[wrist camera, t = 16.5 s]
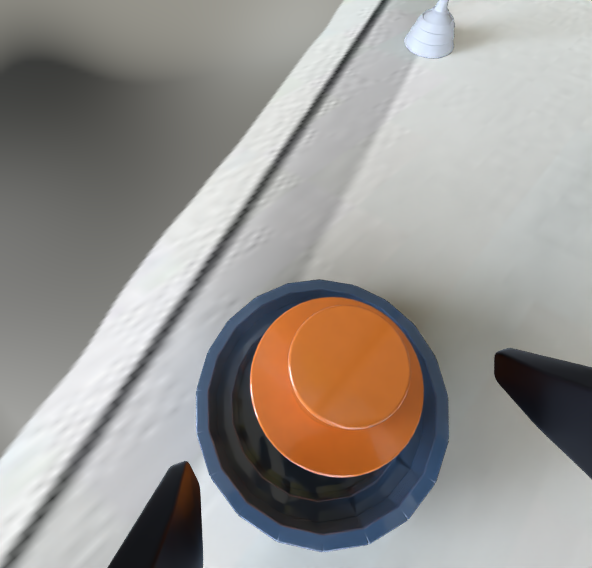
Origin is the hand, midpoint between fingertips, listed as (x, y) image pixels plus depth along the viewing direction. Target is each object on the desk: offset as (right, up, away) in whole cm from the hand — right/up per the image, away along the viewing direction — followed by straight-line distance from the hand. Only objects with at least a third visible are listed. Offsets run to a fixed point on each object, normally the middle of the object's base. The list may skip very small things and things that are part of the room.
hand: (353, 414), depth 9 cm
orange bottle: (0, -3, +9) cm, 10 cm away
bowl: (0, -3, +10) cm, 10 cm away
